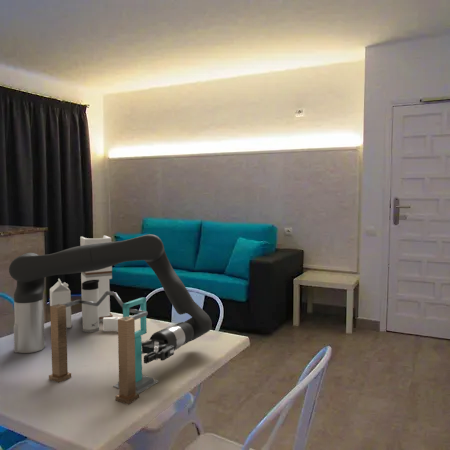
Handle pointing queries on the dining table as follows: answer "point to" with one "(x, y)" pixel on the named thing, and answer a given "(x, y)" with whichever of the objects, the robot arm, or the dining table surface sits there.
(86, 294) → the travel mug
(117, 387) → the slate pad
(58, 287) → the milk carton
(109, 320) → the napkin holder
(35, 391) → the dining table surface
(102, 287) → the tall white tower
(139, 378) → the turquoise post on base
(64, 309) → the bent wire rig
